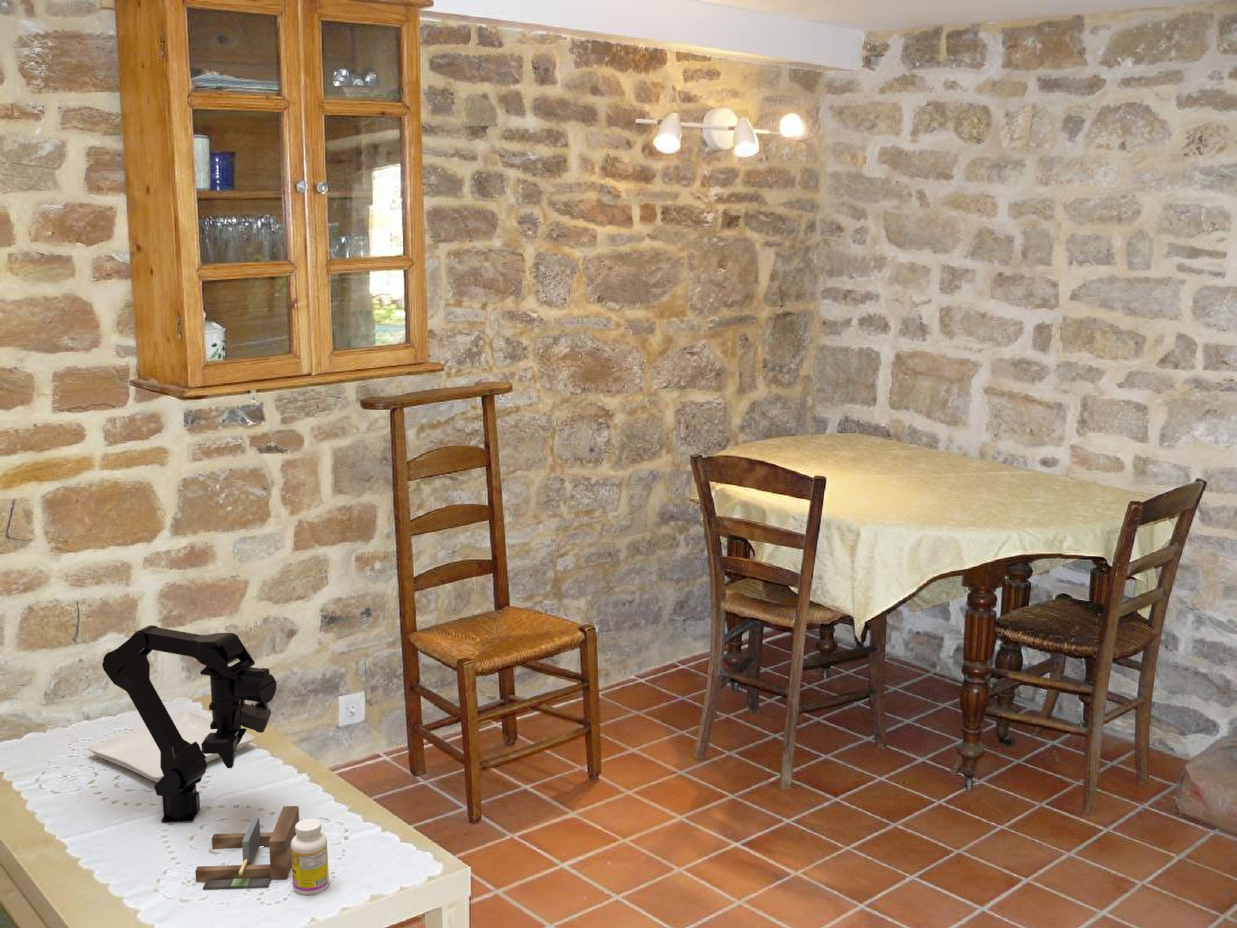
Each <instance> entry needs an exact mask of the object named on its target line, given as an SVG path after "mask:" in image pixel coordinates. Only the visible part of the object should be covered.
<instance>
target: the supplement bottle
mask: <svg viewBox="0 0 1237 928" xmlns="http://www.w3.org/2000/svg"><path fill="white" fill-rule="evenodd" d="M295 832H296V834H297V835H296V836H294V838H293V839H292V841H291V858H292V867H291V872H292V873H291V875H292V889H294V891H295V892H296V893H298V894H300V895H305V896H306V895H307V896H308V895H309V896H310V895H316V894H318V893H321V892H323V891H324V890H326V888H327V887H328V886H329V883H330V878H329V877H330V876H329V875H330V874H329V857H328V856H329V855H328V838H327V836H326V834H325V833H323V832H322V823H321V821H320V820H318V819H316V818H307V819H302V820H299V822H298V823H297V824H296V825H295Z"/></svg>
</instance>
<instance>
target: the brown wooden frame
mask: <svg viewBox="0 0 1237 928" xmlns="http://www.w3.org/2000/svg"><path fill="white" fill-rule="evenodd" d="M299 808H300V807H299V805H287V806H286V805H284V806H283V807H282V809H281V811H280V814H279V816H278V818H277V822H276V823H275V826H274V828H273V831H272V832H268V831H267V832H260V839H261V845H260V846H264V847H263V848H269V849H268V850H269V864H268V863H267V864H264V863H262V864H252V865H246V867H245V869H244V872H243V874H242V875H239V871H240V868H241V866H242V864H238V865H237V864H236V865H234V864H233V865H206V866H205V865H203V866H202V865H201V866H197V867H196V868H195V883H204V885H203V887H202V890H203V891H209V890H212V891H213V890H240V889H241V890H243V889H247V890H248V889H268V888H269V886H270V883H271V881H278V880H280V881H281V880H287V881H288V877H289V875H290V872H291V871H292V858H291V841H292V839H293V838H294V836H296V835H297V834H296V832H295V825H296V824H297V823H298V822H299V821H300V810H299ZM245 834H246V832H244V833H243V832H242V833H241V832H240V833H237V832H235V833H214V834H213V835H212V837H211V846H212V850H217V849H218V850H221V849H223V850H224V848H228V849H242V840H243V838H244V836H245Z"/></svg>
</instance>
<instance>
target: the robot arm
mask: <svg viewBox="0 0 1237 928" xmlns="http://www.w3.org/2000/svg"><path fill="white" fill-rule="evenodd" d="M153 651H157V652H161V653H168V654H172V655H179V656H183V657H190V658H193V659H195V660H197V661H198V663H199V664H201V665H203V666H205V667H204V668H203V669H201V670H200V672H199V674H200V675H201V676H207V677H208V676H209V680H210V681H209V682H210V683H209V684H210V696H211V697H210V698H211V701H210V703H209V705H208V710H209V711H211V714H212V715H211V716H212V718H211V719H213V721H212V723H211V724H210V729H217V731H216V733H209V734H208V735H207V736H206V737H205V739H204V740H203V742H202V744H201V747H202V751H201V749H200V746H199V744H198V743H197V742H193V743H192V744H191V743H189V742H187V741H185V740H184V739H183V738H182V737H181V735H180V733H179V731H178V729H177V728H176V726H175V724H174V722H173V720H172V719H171V717H170V716H171V715H170V714H169V712H168V710H167V708H166V706H165V704H164V703H163V701H162V699H161V697H160V695H159V694H158V692H157V690H156V688H155V686H154V684H153V683H152V681H151V679H150V678H151V677H150V673H151V672H150V671H151V669H150V668H151V665H150V662H149V659H148V656H149V654H150V653H152V652H153ZM237 660H238V662H235V661H237ZM233 662H235V663H234V664H233V665H232V664H231V663H233ZM229 664H231V665H229ZM101 665H102V669H103V671H104V673H105V674H106V676H107V677H108V679H110V681H111V682H112V684H114V685H115V686H116V687H118V688H120V689H122V690H124V691H125V692H126V693H127V694H128V696H129V698H130V700H131V702H132V703H133V705H134V707H135V708H136V711H137V712H138V714H139V716H140V717H141V719H142V721H143V723H144V726H145V725H146V727H147V728H148V730H149V732H150V734H151V735H152V737H153V739H154V741H155V743H156V744H157V746H158V748H159V750H160V753H161V758H160V767H161V770H162V772H163V775H164V777H163V778H162V779H160V780H159V781H158V782H155V784H154V786H153V788H154V790H155V793H156V796H159V797H161V798H162V809H163V810H162V811H163V816H162V818H161V819H160V820H161V823H162V824H164V823H165V824H166V823H168V824H169V823H192V822H194V820H195V819H196V816H197V815H198V814H199V812H200V811H201V800H200V792H199V791H197V784H199V783H200V782H202V779H203V776H204V775H205V773H206V771H207V767H208V762H207V763H206V760H205V758H206V756H205V755H204V754H219V756H220V757H219V758H220V759H221V760H222V762H223V764H224V765H225V767H226V769H233V768H234V764H235V758H236V756H237V755H236V753H237V751H238V750H237V745H238V744H239V743H240V741H241V739H242V736H243V735H244V734H245V732H246V733H247V729H249V730H253V731H255V732H256V733H260V734H261V733H265V731H266V730H265V729H266V728H267V727H268V723H269V721H270V718H271V714H272V711H271V710H272V709H271V708H269V704H268V703H270V702H271V701H272V700H273V699H274V697H275V694H276V691H277V685H278V684H277V680H276V679H275V677H274V675H272V674H270V669H269V668H265V667H261V668H258V667H253V666H254V665H256V662H255V661H254V659H253V657H252V655H251V654H250V653H249V651H248V650H247V648H246V647H245V646H244V644H243V642H242V640H241V639H240V638H239V635H238V634H236V633H234V632H216V633H211V634H210V633H209V634H197V633H192V632H191V633H190V632H186V631H181V630H180V631H179V630H176V629H175V630H174V629H169V628H168V629H167V628H162V627H159V626H157V625H147V626H145V627H143V628H141V629H139V630H137V631H135V632H134V633H133V634H132V635H131V637H129V639H127V640H126V641H125V642H124V643H122V644H121V645H119V646H118V647H117V648H115V649H113V650H111V651H109V652H107V653H105V655H104V657H103V659H102V662H101ZM246 701H248V702H249V701H250V702H251V704H247V703H246ZM253 702H255V704H254V703H253ZM242 727H243V728H242Z"/></svg>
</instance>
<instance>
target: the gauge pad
mask: <svg viewBox="0 0 1237 928" xmlns="http://www.w3.org/2000/svg"><path fill="white" fill-rule="evenodd" d="M260 822H261V821H260V816H253V817H252V818H251V821H250V822H249V825H248V827H247V830H246V832H245V833H246V834H245V836H244V838H243V840H242V848H241V849H242V852H241V853H242V864H241V865H242V866H241V868H240V871H239V875H242V874H243V872H244V869H245V867H246V865H254V861H255V859H256V857H257V854H258V852H259V850H260V848H259V847H260V845H261V839H260V833H261V823H260Z"/></svg>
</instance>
